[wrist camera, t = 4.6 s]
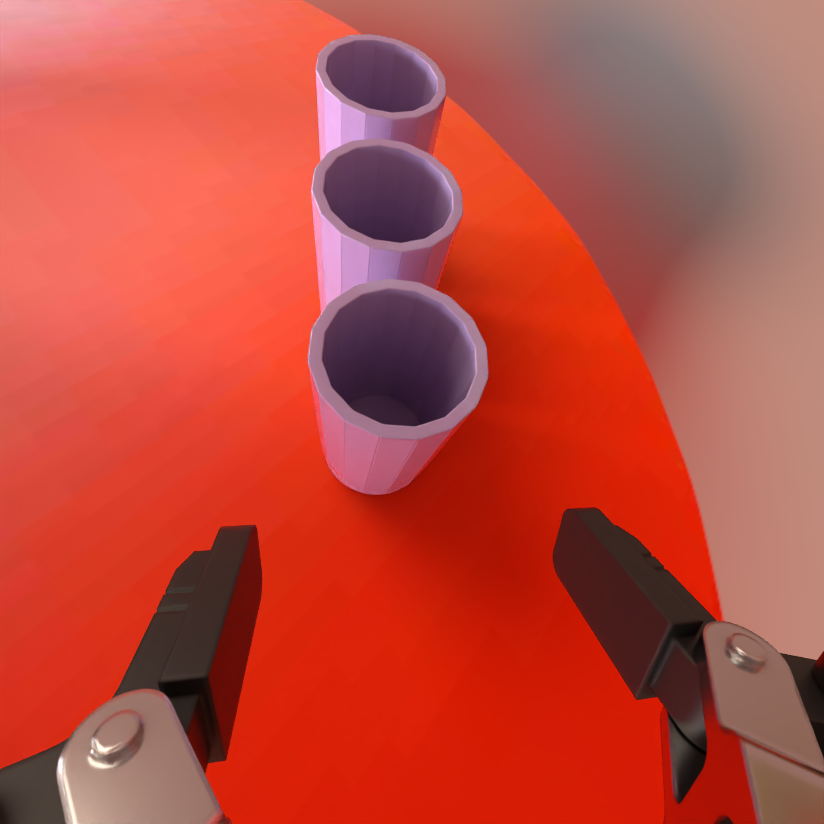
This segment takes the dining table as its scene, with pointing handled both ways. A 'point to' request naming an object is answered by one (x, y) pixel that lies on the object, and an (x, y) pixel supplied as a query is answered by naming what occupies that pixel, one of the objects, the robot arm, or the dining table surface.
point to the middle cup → (382, 215)
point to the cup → (377, 93)
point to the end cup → (392, 380)
